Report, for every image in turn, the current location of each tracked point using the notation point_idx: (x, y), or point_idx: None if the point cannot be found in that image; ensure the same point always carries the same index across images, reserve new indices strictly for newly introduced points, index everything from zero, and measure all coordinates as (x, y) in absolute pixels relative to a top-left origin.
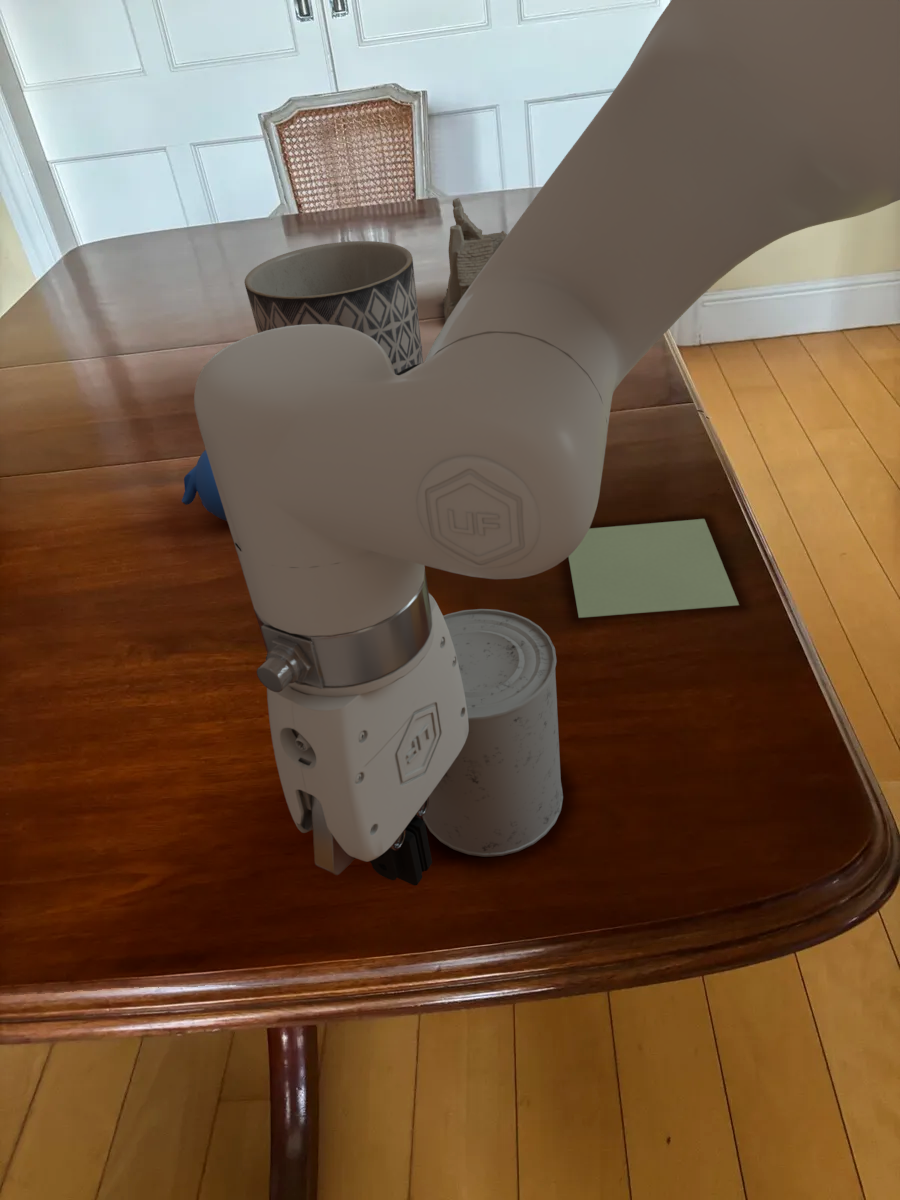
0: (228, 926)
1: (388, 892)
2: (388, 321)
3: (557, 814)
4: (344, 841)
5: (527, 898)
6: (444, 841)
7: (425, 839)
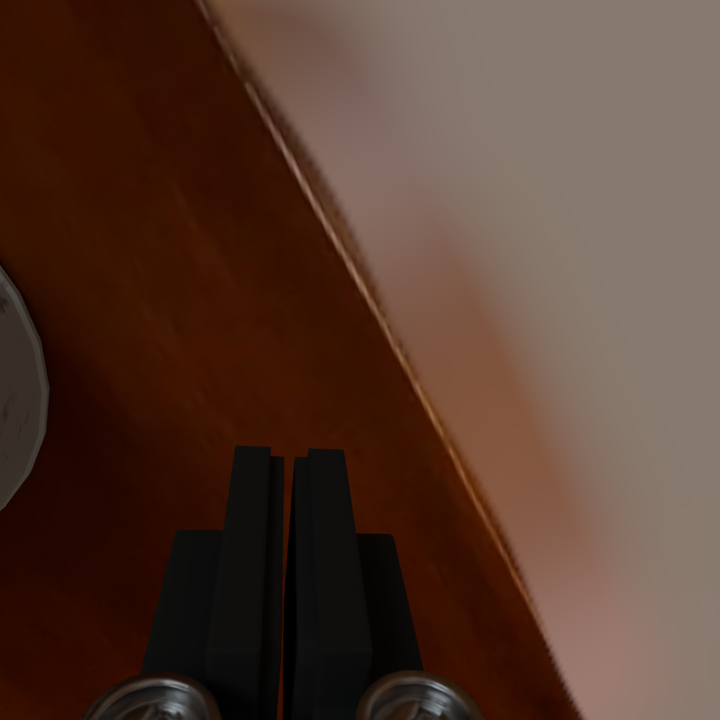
0: None
1: None
2: None
3: None
4: None
5: (86, 101)
6: (40, 422)
7: (239, 555)
